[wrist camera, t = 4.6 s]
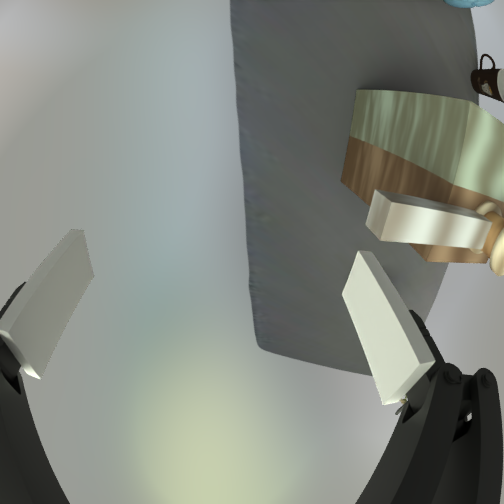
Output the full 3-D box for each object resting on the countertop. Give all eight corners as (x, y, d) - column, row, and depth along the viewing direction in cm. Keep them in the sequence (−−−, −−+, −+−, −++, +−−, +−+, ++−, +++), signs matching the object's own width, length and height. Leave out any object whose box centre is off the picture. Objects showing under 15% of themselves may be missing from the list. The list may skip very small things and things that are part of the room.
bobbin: (502, 205, 24) (532, 226, 19) (485, 251, 28) (511, 275, 23) (379, 170, 21) (418, 195, 16) (360, 241, 25) (389, 278, 20)
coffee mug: (488, 98, 41) (516, 105, 32) (470, 96, 41) (499, 103, 33) (482, 56, 35) (510, 59, 26) (463, 52, 35) (492, 53, 27)
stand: (340, 181, 52) (426, 261, 27) (356, 89, 42) (470, 101, 18) (396, 190, 54) (486, 263, 29) (413, 108, 44) (524, 141, 19)
